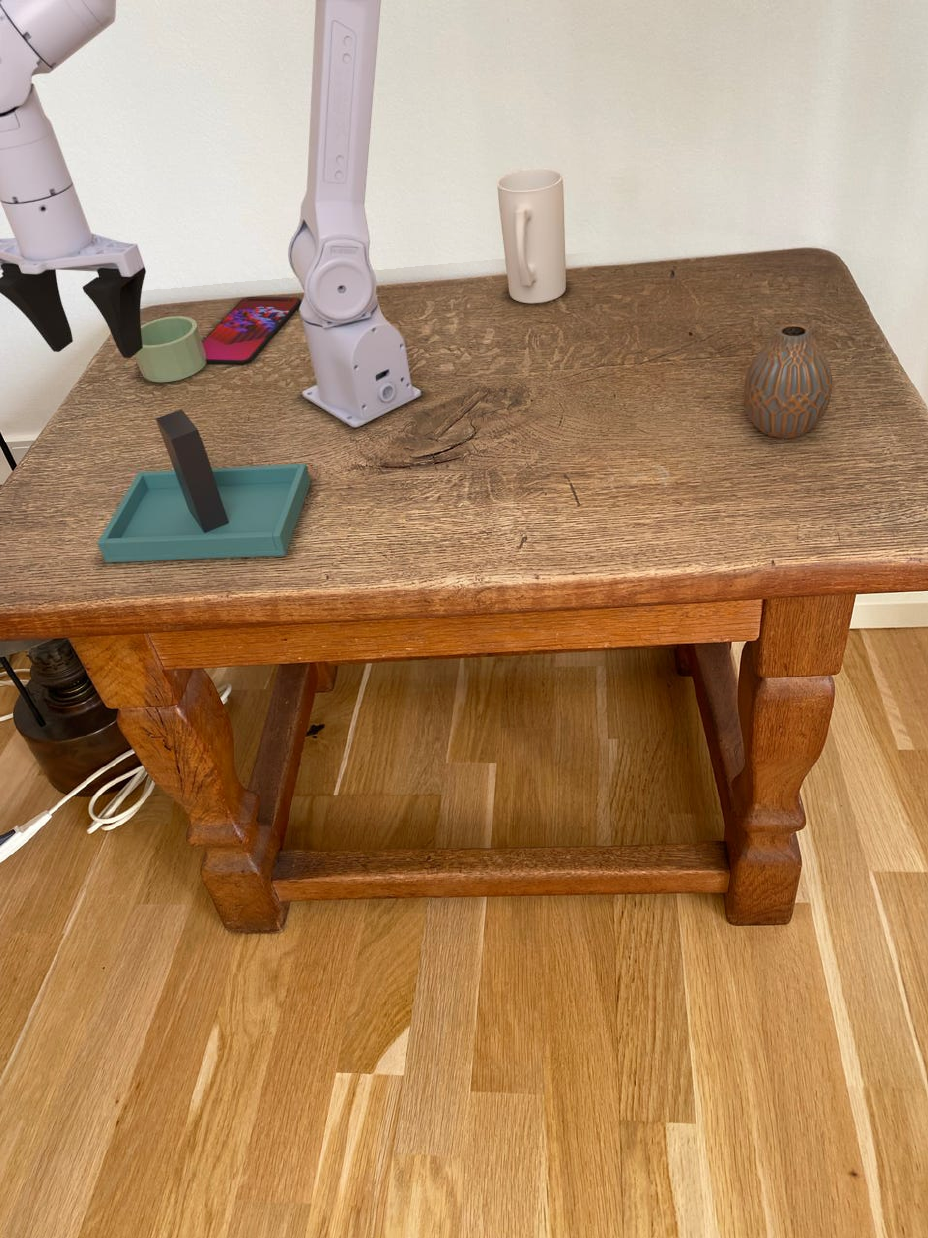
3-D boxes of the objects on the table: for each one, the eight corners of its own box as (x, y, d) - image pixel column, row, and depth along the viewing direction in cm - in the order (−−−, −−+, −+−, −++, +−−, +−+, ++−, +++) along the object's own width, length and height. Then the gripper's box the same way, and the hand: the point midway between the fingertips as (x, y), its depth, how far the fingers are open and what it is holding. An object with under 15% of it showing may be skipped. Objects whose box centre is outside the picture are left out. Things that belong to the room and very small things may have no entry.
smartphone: (183, 359, 108) (243, 296, 118) (186, 366, 108) (245, 303, 119) (248, 361, 106) (303, 296, 116) (250, 369, 106) (305, 304, 116)
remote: (215, 500, 86) (184, 407, 80) (231, 522, 83) (200, 427, 78) (189, 511, 85) (155, 418, 79) (204, 533, 83) (170, 439, 77)
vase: (735, 408, 88) (741, 314, 83) (816, 401, 88) (828, 306, 82) (749, 451, 83) (757, 354, 77) (835, 444, 83) (849, 346, 77)
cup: (219, 363, 107) (208, 328, 104) (159, 389, 104) (147, 353, 101) (189, 344, 111) (178, 310, 109) (131, 368, 108) (118, 334, 106)
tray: (311, 482, 87) (306, 462, 86) (285, 555, 80) (279, 535, 79) (145, 490, 90) (138, 471, 88) (105, 562, 82) (96, 543, 81)
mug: (514, 278, 114) (505, 168, 106) (573, 278, 112) (568, 166, 104) (493, 318, 107) (481, 204, 99) (556, 319, 105) (549, 202, 97)
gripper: (-69, 207, 79) (3, 365, 88) (78, 211, 74) (139, 378, 83) (-9, 175, 84) (54, 328, 93) (134, 177, 79) (185, 338, 88)
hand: (97, 349), depth 88 cm, fingers open, 7 cm apart
